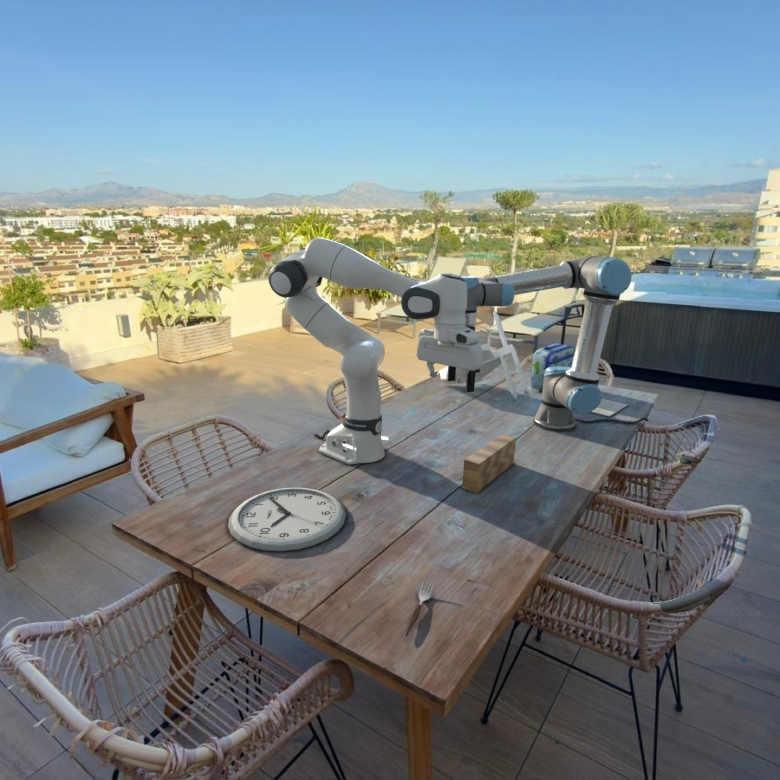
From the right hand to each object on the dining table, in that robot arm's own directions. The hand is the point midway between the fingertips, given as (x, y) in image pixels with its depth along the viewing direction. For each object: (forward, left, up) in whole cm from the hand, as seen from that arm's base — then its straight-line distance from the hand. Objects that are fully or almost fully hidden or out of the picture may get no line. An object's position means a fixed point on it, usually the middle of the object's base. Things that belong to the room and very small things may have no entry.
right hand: (460, 386), depth 178 cm
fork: (+8, +86, -21) cm, 89 cm away
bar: (-10, +23, -21) cm, 33 cm away
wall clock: (+44, +56, -21) cm, 74 cm away
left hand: (+5, +26, +10) cm, 28 cm away
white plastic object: (-11, -63, -21) cm, 67 cm away
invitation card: (-62, -51, -21) cm, 83 cm away
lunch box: (-45, -76, -21) cm, 91 cm away
